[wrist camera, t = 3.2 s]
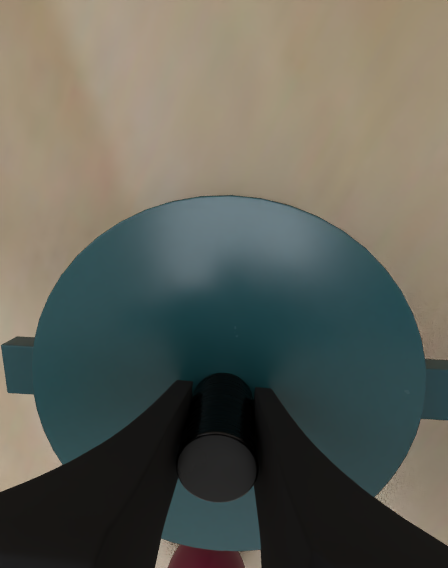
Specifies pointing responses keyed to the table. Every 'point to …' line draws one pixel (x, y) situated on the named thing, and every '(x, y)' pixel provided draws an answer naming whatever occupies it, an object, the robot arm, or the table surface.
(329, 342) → the pot lid
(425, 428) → the table surface
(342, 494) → the robot arm
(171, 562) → the beet
